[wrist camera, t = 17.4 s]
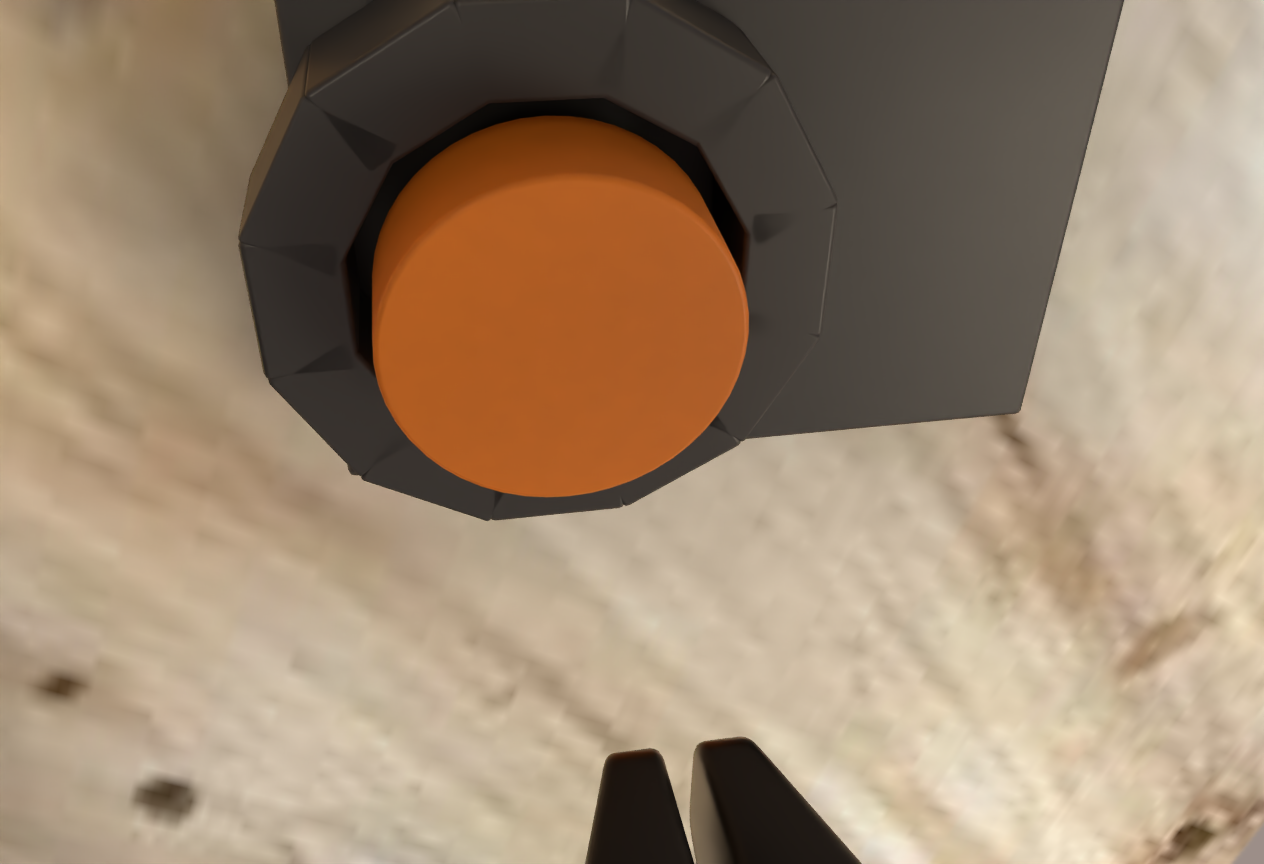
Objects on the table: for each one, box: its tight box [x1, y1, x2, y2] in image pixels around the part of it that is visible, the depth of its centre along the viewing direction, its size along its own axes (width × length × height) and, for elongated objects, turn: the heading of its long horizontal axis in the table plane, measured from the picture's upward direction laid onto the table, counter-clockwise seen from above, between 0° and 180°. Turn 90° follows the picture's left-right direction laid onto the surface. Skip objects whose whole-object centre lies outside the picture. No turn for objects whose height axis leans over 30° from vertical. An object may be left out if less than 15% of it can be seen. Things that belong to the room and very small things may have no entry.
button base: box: [238, 0, 1124, 521], centre depth 17 cm, size 12×8×4 cm
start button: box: [372, 116, 749, 497], centre depth 15 cm, size 4×4×2 cm
